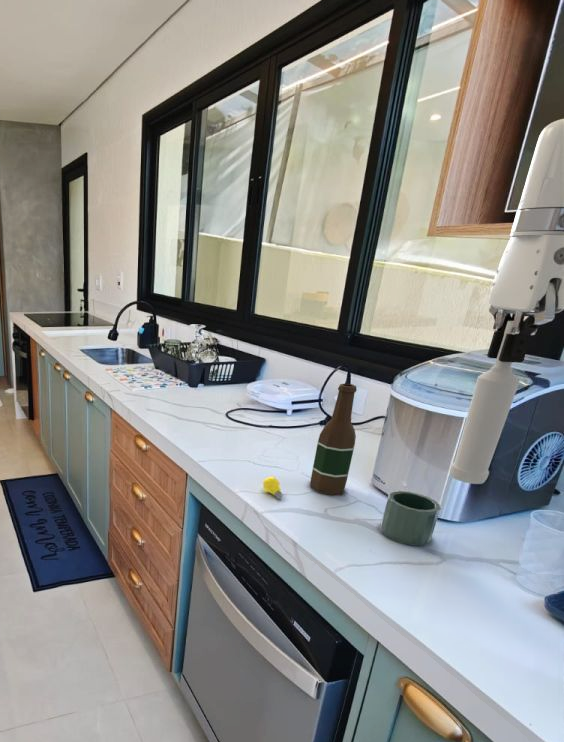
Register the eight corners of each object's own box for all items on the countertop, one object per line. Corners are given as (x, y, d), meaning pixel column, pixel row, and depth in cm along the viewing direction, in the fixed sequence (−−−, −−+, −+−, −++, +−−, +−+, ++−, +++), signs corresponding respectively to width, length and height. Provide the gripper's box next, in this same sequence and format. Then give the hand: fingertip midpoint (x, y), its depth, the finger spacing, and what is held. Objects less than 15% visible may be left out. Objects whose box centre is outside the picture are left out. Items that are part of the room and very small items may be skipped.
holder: (417, 524, 100) (426, 492, 97) (438, 547, 92) (449, 513, 89) (373, 521, 100) (381, 489, 98) (391, 543, 93) (400, 510, 90)
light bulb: (268, 486, 114) (277, 474, 112) (282, 504, 110) (291, 492, 108) (257, 484, 113) (266, 472, 111) (270, 502, 108) (279, 490, 106)
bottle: (450, 469, 86) (496, 318, 77) (487, 477, 83) (539, 322, 74) (446, 478, 82) (493, 321, 73) (484, 487, 79) (538, 324, 70)
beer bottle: (302, 486, 115) (320, 383, 106) (320, 478, 119) (340, 379, 111) (333, 499, 109) (356, 391, 100) (352, 490, 114) (375, 386, 105)
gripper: (626, 222, 61) (571, 372, 68) (535, 229, 76) (497, 351, 83) (561, 220, 61) (512, 370, 68) (483, 227, 76) (449, 349, 83)
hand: (504, 359), depth 75 cm, fingers closed on bottle, 2 cm apart
